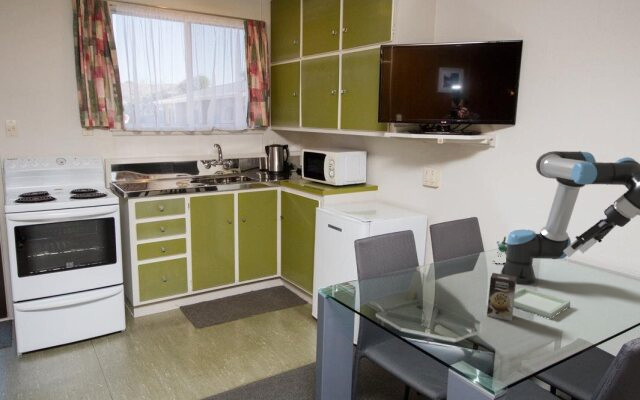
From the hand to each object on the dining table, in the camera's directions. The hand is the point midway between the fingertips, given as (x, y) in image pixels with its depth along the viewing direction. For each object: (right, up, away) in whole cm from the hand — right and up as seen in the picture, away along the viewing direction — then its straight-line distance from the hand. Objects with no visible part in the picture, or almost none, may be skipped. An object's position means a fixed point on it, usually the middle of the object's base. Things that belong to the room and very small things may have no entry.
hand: (573, 252), depth 165 cm
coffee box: (-20, -27, +15) cm, 37 cm away
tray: (-2, -25, +26) cm, 36 cm away
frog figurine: (+8, -14, +82) cm, 83 cm away
